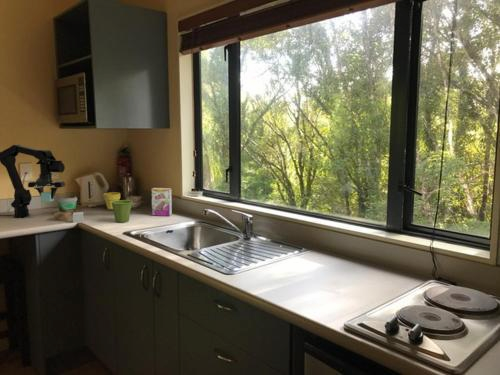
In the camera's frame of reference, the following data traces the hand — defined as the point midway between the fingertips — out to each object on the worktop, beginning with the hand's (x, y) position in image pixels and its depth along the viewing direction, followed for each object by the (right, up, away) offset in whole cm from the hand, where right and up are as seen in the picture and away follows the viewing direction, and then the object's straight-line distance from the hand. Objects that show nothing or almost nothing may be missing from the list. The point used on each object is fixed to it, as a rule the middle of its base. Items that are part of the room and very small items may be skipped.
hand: (47, 199), depth 243 cm
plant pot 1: (+27, -7, +33) cm, 43 cm away
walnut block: (+10, -12, -2) cm, 15 cm away
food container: (+7, -10, +14) cm, 18 cm away
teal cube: (0, -1, 0) cm, 1 cm away
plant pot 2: (+45, -12, -6) cm, 47 cm away
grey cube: (+21, -12, -8) cm, 25 cm away
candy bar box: (+63, -10, +12) cm, 65 cm away
